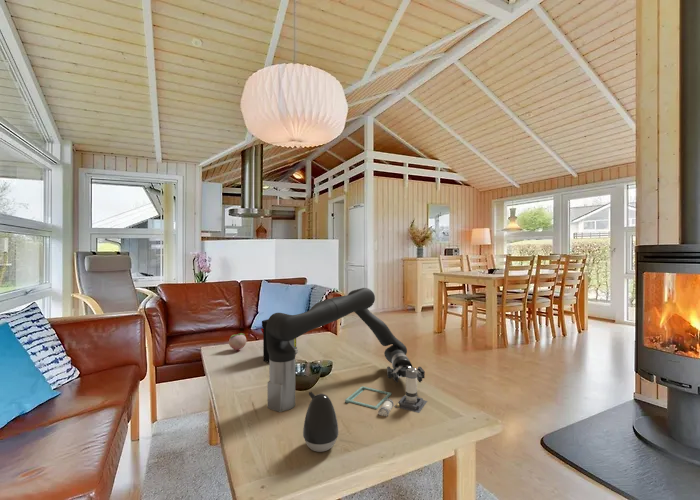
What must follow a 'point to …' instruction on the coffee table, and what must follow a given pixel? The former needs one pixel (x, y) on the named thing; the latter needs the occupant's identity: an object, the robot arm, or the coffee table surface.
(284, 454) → the coffee table surface
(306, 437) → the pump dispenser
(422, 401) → the holder block
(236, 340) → the decorative fruit
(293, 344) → the electrical component
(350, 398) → the teal square frame
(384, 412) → the cylinder
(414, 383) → the fuse
